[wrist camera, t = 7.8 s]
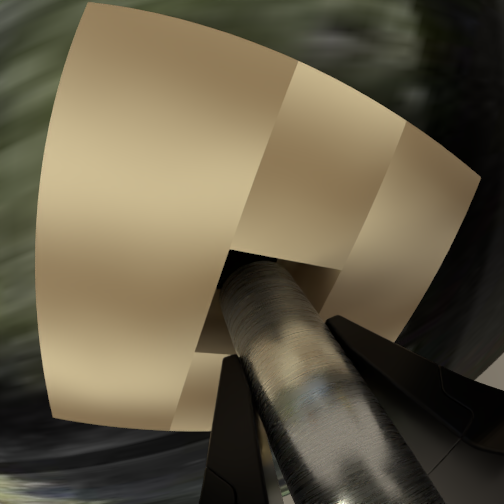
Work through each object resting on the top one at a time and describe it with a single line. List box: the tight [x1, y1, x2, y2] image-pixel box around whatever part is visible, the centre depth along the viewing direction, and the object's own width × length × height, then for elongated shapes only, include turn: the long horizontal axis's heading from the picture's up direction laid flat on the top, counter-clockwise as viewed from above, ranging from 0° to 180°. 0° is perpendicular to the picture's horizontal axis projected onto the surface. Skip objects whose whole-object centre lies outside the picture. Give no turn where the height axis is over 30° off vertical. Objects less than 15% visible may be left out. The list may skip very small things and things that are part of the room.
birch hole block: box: [35, 2, 481, 431], centre depth 12 cm, size 14×14×4 cm
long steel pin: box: [219, 261, 446, 504], centre depth 7 cm, size 3×3×9 cm
